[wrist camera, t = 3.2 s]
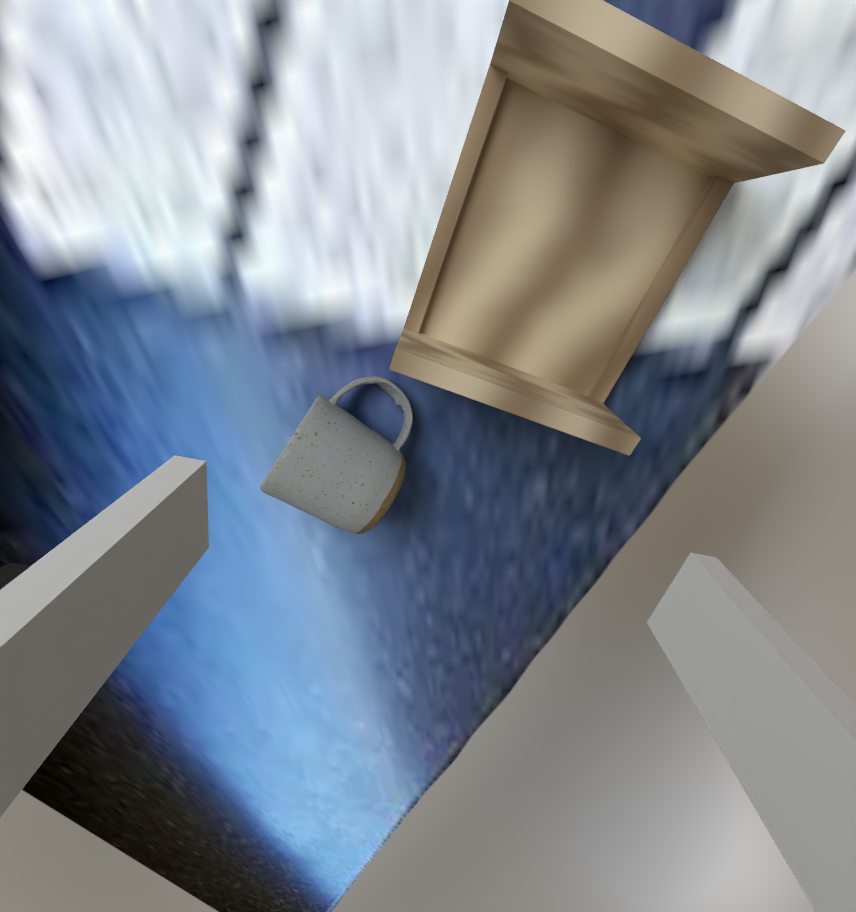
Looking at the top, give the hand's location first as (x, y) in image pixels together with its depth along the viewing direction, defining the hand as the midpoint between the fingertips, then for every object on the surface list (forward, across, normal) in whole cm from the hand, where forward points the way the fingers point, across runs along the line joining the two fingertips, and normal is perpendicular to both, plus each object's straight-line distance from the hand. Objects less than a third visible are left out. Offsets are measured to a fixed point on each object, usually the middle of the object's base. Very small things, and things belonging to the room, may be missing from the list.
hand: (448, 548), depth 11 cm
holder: (+20, +5, +8) cm, 23 cm away
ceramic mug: (+21, -5, -6) cm, 23 cm away
